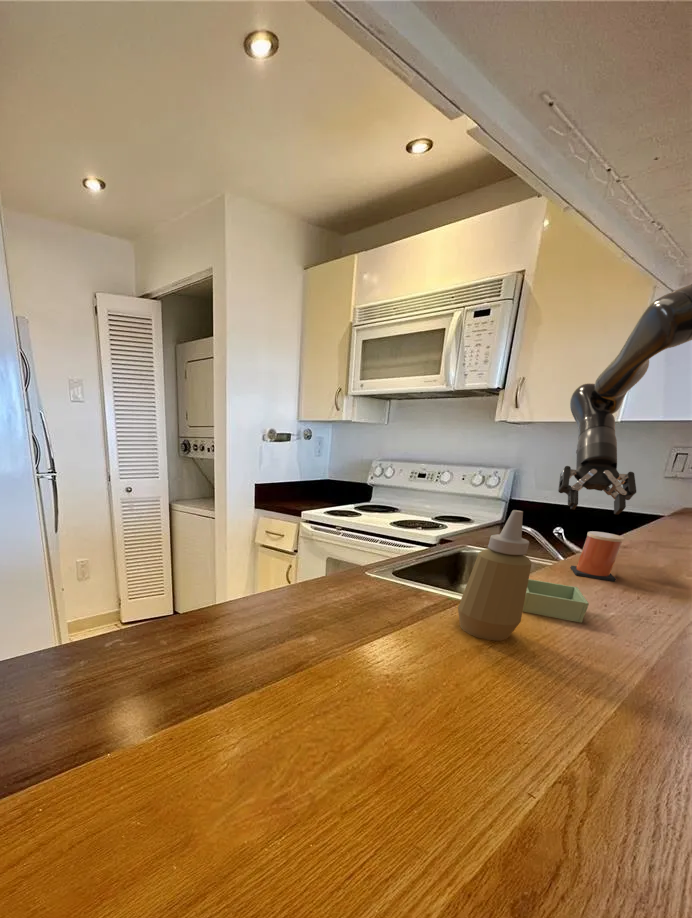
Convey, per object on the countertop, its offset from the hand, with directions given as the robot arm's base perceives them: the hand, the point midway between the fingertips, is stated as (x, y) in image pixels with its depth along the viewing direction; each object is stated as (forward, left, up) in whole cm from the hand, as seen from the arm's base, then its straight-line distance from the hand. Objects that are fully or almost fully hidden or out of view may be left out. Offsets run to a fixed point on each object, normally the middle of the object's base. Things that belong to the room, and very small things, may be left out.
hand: (596, 509), depth 104 cm
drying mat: (-1, +9, -12) cm, 15 cm away
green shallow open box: (+12, +41, -12) cm, 45 cm away
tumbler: (-1, +9, -12) cm, 15 cm away
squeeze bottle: (+22, +57, -13) cm, 62 cm away
